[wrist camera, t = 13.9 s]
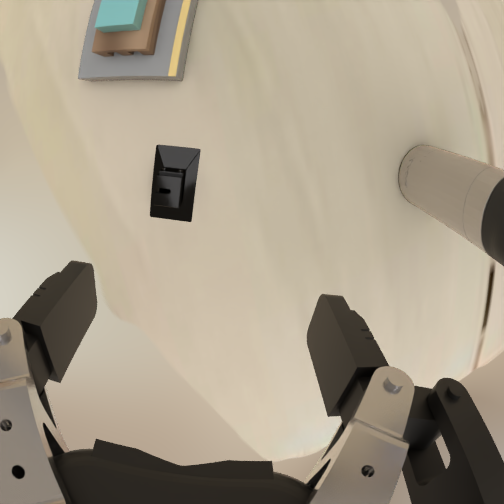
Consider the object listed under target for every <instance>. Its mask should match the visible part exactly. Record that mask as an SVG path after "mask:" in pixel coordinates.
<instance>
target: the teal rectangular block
mask: <svg viewBox="0 0 504 504" xmlns="http://www.w3.org/2000/svg"><path fill="white" fill-rule="evenodd" d="M146 4H147V0H102V1H101V4H100V8H99V12H98V16H97V19H96V24H95V28H96V29H98V30H100V31H102V32H103V33H106V32H117V31H132V30H140V28H141V24H142V20H143V15H144V11H145V7H146Z"/></svg>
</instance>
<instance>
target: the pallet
mask: <svg viewBox="0 0 504 504" xmlns="http://www.w3.org/2000/svg"><path fill="white" fill-rule="evenodd" d="M165 3H166V0H147V4H146V7H145V11H144V15H143V20H142V24H141V28H140V30H132V31H117V32H106V33H103V32H102V31H100V30H98V29H96V32H95V37H94V42H93V47H92V52H93V53H95V54H98V55H101V56H103V57H110V56H114V52H117V53H119V54H121V55H123V56H129V55H134V51H138V52H140V53H141V54H143V55H154V53H155V48H156V43H157V38H158V33H159V28H160V24H161V19H162V15H163V11H164V7H165Z"/></svg>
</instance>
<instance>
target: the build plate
mask: <svg viewBox="0 0 504 504" xmlns="http://www.w3.org/2000/svg"><path fill="white" fill-rule="evenodd" d="M199 157H200V149H195V148H186V147H176V146H166V145H157V146H156V154H155V163H154V172H153V183H152V194H151V207H150V216H151V217H157V218H164V219H172V220H179V221H187V222H191V221H192V212H193V203H194V195H195V187H196V179H197V172H198V164H199Z"/></svg>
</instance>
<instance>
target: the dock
mask: <svg viewBox="0 0 504 504" xmlns="http://www.w3.org/2000/svg"><path fill="white" fill-rule="evenodd" d="M101 1H102V0H94V4H93V8H92V11H91V15H90V19H89V23H88V27H87V32H86V36H85V41H84V46H83V51H82V56H81V62H80V68H79V74H78V79H82V80H88V81H102V80H137V79H142V80H178V81H182V80H183V74H184V68H185V62H186V56H187V51H188V45H189V40H190V35H191V30H192V25H193V21H194V16H195V12H196V7H197V3H198V0H166V3H165V7H164V11H163V15H162V19H161V24H160V28H159V33H158V38H157V43H156V48H155V53H154V55H143V54H141V53H140V52H138V51H134V55H129V56H123V55H121V54H119V53H117V52H114V56H110V57H103V56H101V55H98V54H95V53H93V52H92V47H93V42H94V37H95V32H96V28H95V24H96V19H97V16H98V12H99V8H100V4H101Z"/></svg>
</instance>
